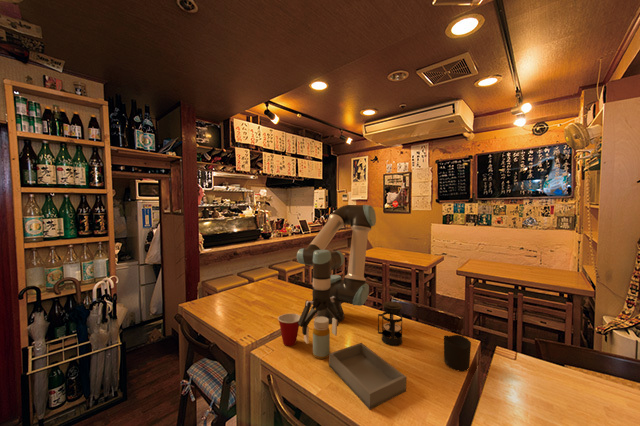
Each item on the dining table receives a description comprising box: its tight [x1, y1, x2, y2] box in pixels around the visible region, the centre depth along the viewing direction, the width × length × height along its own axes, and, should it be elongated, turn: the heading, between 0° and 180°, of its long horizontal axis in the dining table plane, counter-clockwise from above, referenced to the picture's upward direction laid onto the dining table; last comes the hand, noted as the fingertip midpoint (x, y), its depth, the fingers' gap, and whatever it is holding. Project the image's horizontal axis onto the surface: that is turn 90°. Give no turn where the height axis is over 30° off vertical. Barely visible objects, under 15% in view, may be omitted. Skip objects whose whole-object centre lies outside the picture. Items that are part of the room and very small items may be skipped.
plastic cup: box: [277, 313, 301, 347], centre depth 115 cm, size 11×11×12 cm
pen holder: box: [443, 334, 472, 372], centre depth 99 cm, size 9×9×10 cm
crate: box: [328, 342, 407, 410], centre depth 92 cm, size 16×24×5 cm, turn 29°
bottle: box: [312, 316, 331, 360], centre depth 105 cm, size 7×7×15 cm
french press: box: [377, 290, 404, 347], centre depth 117 cm, size 12×9×23 cm
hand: (320, 337), depth 105 cm, fingers open, 13 cm apart
